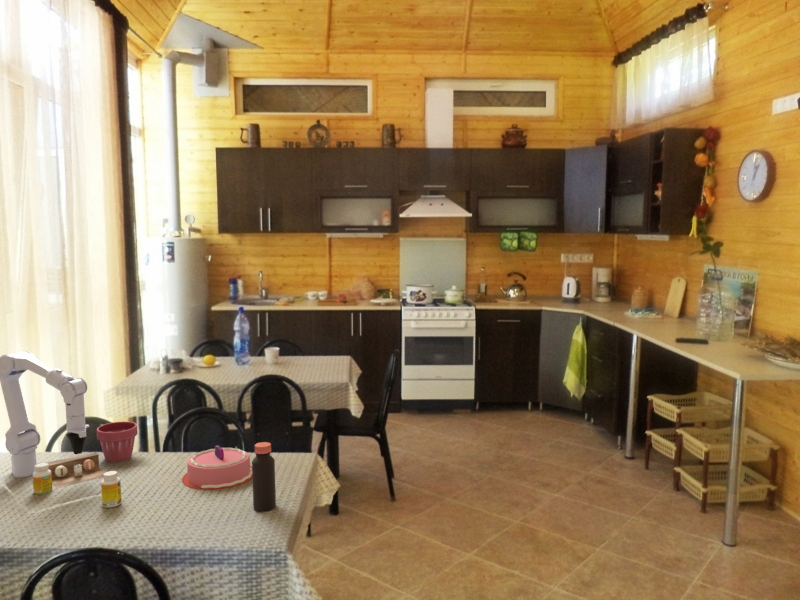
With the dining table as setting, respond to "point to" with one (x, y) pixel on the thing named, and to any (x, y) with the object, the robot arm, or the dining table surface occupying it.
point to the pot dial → (78, 471)
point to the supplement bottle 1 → (42, 479)
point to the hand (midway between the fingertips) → (77, 453)
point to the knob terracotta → (88, 464)
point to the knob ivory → (60, 471)
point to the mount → (69, 464)
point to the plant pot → (117, 440)
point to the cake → (218, 469)
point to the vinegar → (263, 478)
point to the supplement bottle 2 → (111, 489)
